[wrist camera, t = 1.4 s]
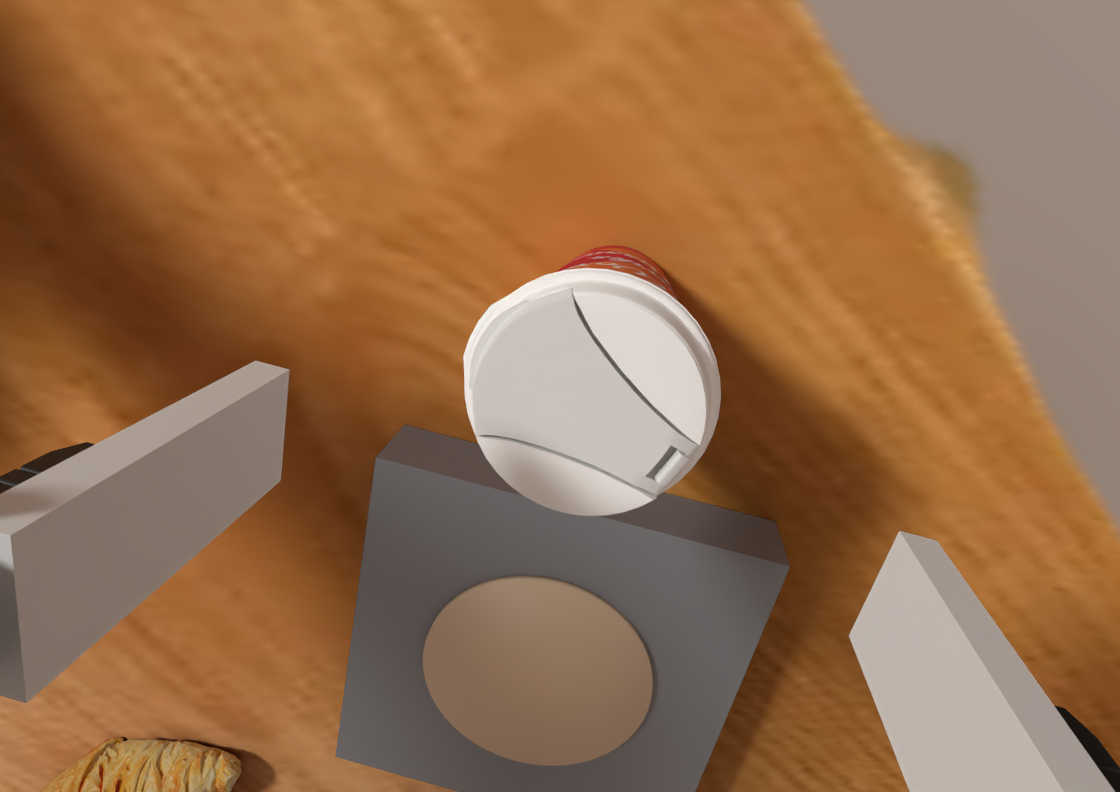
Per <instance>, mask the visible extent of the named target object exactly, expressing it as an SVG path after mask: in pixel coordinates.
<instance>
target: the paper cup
mask: <svg viewBox="0 0 1120 792" xmlns="http://www.w3.org/2000/svg"><path fill="white" fill-rule="evenodd" d="M463 358H464V380H465V401H466V407H467V412H468V416H469V419H470V422H471V425H472V428H473V431H474V433H475V435H476V438H477V441H478V444H479V446H480V447H481V449H482V451H483V453H484V455H485V457H486V459H487V460H488V461H489V463H490V464H491V465H492V467H493V468H494V470H495V471H496V472H497V473H498V474H499V475H500V476H501V477H502V478H503V479H504V480H505V481H506V482H507V483H508V484H509V485H510V486H511V487H513V488H514V489H515V490H517V491H518V492H519V493H520V494H522V495H523V496H525V497H527V498H529V499H530V500H532V501H534V502H536V503H537V504H540V505H542V506H545V507H547V508H550V509H552V510H555V511H560V512H564V513H568V514H573V515H583V516H603V515H611V514H617V513H622V512H626V511H629V510H632V509H635V508H638V507H641V506H643V505H645V504H647V503H649V502H651V501H653V500H655V499H656V497H657V495H659V494H661V493H663V492H665V491H666V490H667V489H669V488H670V487H672V486H673V485H674V484H676V483H677V482H679V481H680V480H681V479H682V478H683V477H684V476H685V475H686V474H687V473H688V472H689V471H690V470H691V469H692V468H693V467H694V466H695V464H696V463H697V462H698V460H699V459H700V457H701V456H702V455H703V453H704V452H705V450H706V448H707V446H708V444H709V442H710V440H711V438H712V436H713V433H714V430H715V427H716V424H717V420H718V417H719V409H720V402H721V386H720V375H719V371H718V366H717V361H716V358H715V355H714V353H713V350H712V348H711V345H710V343H709V340H708V338H707V337H706V335H705V333H704V332H703V330H702V329H701V327H700V325H699V324H698V322H697V321H696V320H695V319H694V317H693V316H692V315H691V314H690V313H689V312H688V310H687V309H686V308H685V307H684V306H683V305H682V304H681V303H679V301H678V299H677V297H676V295H675V293H674V291H673V289H672V287H671V285H670V283H669V281H668V279H667V278H666V276H665V274H664V273H663V271H662V270H661V269H660V268H659V267H658V265H657V264H656V263H655V262H654V261H652V260H651V259H650V258H649V257H647V256H646V255H644V254H643V253H641V252H639V251H637V250H634V249H631V248H628V247H623V246H603V247H599V248H595V249H592V250H589V251H587V252H585V253H583V254H581V255H580V256H578V257H576V258H575V259H573V260H572V261H570V262H569V263H568V264H566V265H565V266H563V267H562V268H561V269H559V270H558V271H557V272H555V273H551V274H548V275H544V276H542V277H540V278H538V279H535V280H533V281H531V282H529V283H526V284H525V285H523V286H522V287H520V288H519V289H517V290H516V291H514V292H513V293H511V294H510V295H508V296H506V297H504V298H503V299H501V300H499V301H498V302H496V303H494V304H492V305H491V306H490V307H489V308H488V309H487V311H486V312H485V313H484V315H483V316H482V317H481V319H480V320H479V321H478V323H477V325H476V327H475V329H474V331H473V332H472V334H471V336H470V338H469V341H468V344H467V347H466V350H465V353H464V356H463Z"/></svg>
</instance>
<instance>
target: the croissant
mask: <svg viewBox="0 0 1120 792" xmlns="http://www.w3.org/2000/svg"><path fill="white" fill-rule="evenodd" d="M241 771H242V770H241V761H240V760H239V759H238V758H237V757H236V756H235V755H233V754H231V753H228V752H226V751H223V750H221V749H219V748H213V747H207V746H204V745H201V744H198V743H195V742H187V741H181V740H178V741H168V740H158V739H156V738H152V739H143V740H140V739H131V740H127V741H124V739H123V738H122V737H119V738H110V739H108V740H106V741H104V742H103V743H101V744H100V745H98V746H97V747H96V748H94V749H93V750H91V751H90V752H89V753H87V754H86V755H84V756H83V757H82V758H81V759H79V760H78V761H77V762H75V763H74V764H73V765H71V766H70V767H69V768H68V769H66V770H64V771H63V772H62V773H60V774H59V775H58V776H57V777H55V778H54V779H53V780H52V781H51V782H50V783H48V784H47V786H46V787H45V788H44V789H43V790H42V792H230V791H231V790H232V787H233V785H234V783H235V782H236V780H237V779H238V777H239V776H240V774H241Z"/></svg>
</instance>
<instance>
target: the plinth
mask: <svg viewBox="0 0 1120 792" xmlns="http://www.w3.org/2000/svg"><path fill="white" fill-rule="evenodd" d="M789 568H790V564H789V561H788V558H787V555H786V552H785V549H784V546H783V543H782V540H781V537H780V534H779V531H778V528H777V525H776V522H775V521H771V520H767V519H764V518H760V517H756V516H752V515H748V514H744V513H741V512H737V511H733V510H729V509H725V508H722V507H718V506H714V505H710V504H706V503H702V502H699V501H695V500H691V499H687V498H683V497H679V496H676V495H672V494H668V493H664V492H663V493H661V494H659V495H657V497H656V499H655V500H653V501H651V502H649V503H647V504H645V505H643V506H641V507H638V508H635V509H632V510H629V511H626V512H622V513H617V514H611V515H603V516H583V515H573V514H568V513H564V512H560V511H555V510H552V509H550V508H547V507H545V506H542V505H540V504H537V503H536V502H534V501H532V500H530V499H529V498H527V497H525V496H523V495H522V494H520V493H519V492H518V491H517V490H515V489H514V488H513V487H511V486H510V485H509V484H508V483H507V482H506V481H505V480H504V479H503V478H502V477H501V476H500V475H499V474H498V473H497V472H496V471H495V470H494V468H493V467H492V465H491V464H490V463H489V461H488V460H487V459H486V457H485V455H484V453H483V451H482V449H481V447H480V446H479V444H476V443H473V442H469V441H465V440H461V439H457V438H453V437H450V436H446V435H442V434H438V433H434V432H430V431H427V430H423V429H419V428H415V427H411V426H407V425H404V426H403V427H402V428H401V429H400V431H399V432H398V433H397V434H396V435H395V436H394V437H393V438H392V440H391V441H390V442H389V443H388V444H387V445H386V446H385V447H384V449H383V450H382V451H381V452H380V453H379V454H378V455H377V456H376V459H375V467H374V474H373V482H372V489H371V497H370V504H369V511H368V519H367V526H366V534H365V541H364V549H363V556H362V564H361V571H360V578H359V586H358V593H357V601H356V608H355V616H354V623H353V631H352V638H351V645H350V653H349V660H348V668H347V675H346V683H345V690H344V698H343V705H342V712H341V720H340V727H339V735H338V742H337V750H336V757H339V758H342V759H346V760H349V761H353V762H356V763H360V764H363V765H367V766H370V767H374V768H377V769H381V770H384V771H388V772H392V773H395V774H399V775H402V776H406V777H409V778H413V779H416V780H420V781H423V782H427V783H430V784H434V785H437V786H441V787H445V788H448V789H452V790H455V791H459V792H695V791H696V789H697V787H698V784H699V782H700V779H701V777H702V775H703V772H704V770H705V768H706V765H707V763H708V761H709V758H710V756H711V753H712V751H713V749H714V746H715V744H716V742H717V739H718V737H719V734H720V732H721V730H722V727H723V725H724V723H725V720H726V718H727V715H728V713H729V711H730V708H731V706H732V704H733V701H734V699H735V696H736V694H737V692H738V689H739V687H740V685H741V682H742V680H743V677H744V675H745V673H746V670H747V668H748V666H749V663H750V661H751V658H752V656H753V654H754V651H755V649H756V647H757V644H758V642H759V640H760V637H761V635H762V632H763V630H764V628H765V625H766V623H767V621H768V618H769V616H770V613H771V611H772V609H773V606H774V604H775V602H776V599H777V597H778V594H779V592H780V590H781V587H782V585H783V583H784V580H785V578H786V575H787V573H788V571H789Z"/></svg>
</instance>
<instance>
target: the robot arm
mask: <svg viewBox="0 0 1120 792" xmlns="http://www.w3.org/2000/svg"><path fill="white" fill-rule="evenodd" d="M288 382H289V369H285V368H282V367H278V366H274V365H270V364H267V363H263V362H259V361H254V362H252V363H250V364H248V365H246V366H244V367H242V368H240V369H239V370H237V371H235V372H233V373H231V374H229V375H227V376H225V377H223V378H221V379H219V380H218V381H216V382H214V383H212V384H210V385H208V386H206V387H204V388H202V389H200V390H198V391H196V392H195V393H193V394H191V395H189V396H187V397H185V398H183V399H181V400H179V401H177V402H175V403H174V404H172V405H170V406H168V407H166V408H164V409H162V410H160V411H158V412H156V413H154V414H152V415H151V416H149V417H147V418H145V419H143V420H141V421H139V422H137V423H135V424H133V425H131V426H129V427H128V428H126V429H124V430H122V431H120V432H118V433H116V434H114V435H112V436H110V437H108V438H107V439H105V440H103V441H101V442H99V443H97V444H92V443H88V442H86V443H82V444H78V445H74V446H70V447H67V448H63V449H59V450H55V451H51V452H49V453H47V454H45V455H43V456H41V457H39V458H37V459H35V460H33V461H31V462H29V463H27V464H25V465H23V466H21V469H20V470H17V469H15V470H13V471H11V472H9V473H7V474H5V475H3V476H1V477H0V695H1V696H4V697H7V698H11V699H14V700H17V701H21V702H24V703H27V702H28V701H30V700H31V699H32V698H33V697H34V696H35V695H36V694H38V693H39V692H40V691H41V690H42V689H43V688H44V687H46V686H47V685H48V684H49V683H50V682H51V681H52V680H54V679H55V678H56V677H57V676H58V675H59V674H60V673H62V672H63V671H64V670H65V669H66V668H67V667H68V666H70V665H71V664H72V663H73V662H74V661H75V660H76V659H78V658H79V657H80V656H81V655H82V654H83V653H84V652H86V651H87V650H88V649H89V648H90V647H91V646H92V645H94V644H95V643H96V642H97V641H98V640H99V639H100V638H102V637H103V636H104V635H105V634H106V633H107V632H108V631H110V630H111V629H112V628H113V627H114V626H115V625H116V624H118V623H119V622H120V621H121V620H122V619H123V618H124V617H126V616H127V615H128V614H129V613H130V612H131V611H132V610H134V609H135V608H136V607H137V606H138V605H139V604H140V603H142V602H143V601H144V600H145V599H146V598H147V597H148V596H150V595H151V594H152V593H153V592H154V591H155V590H156V589H158V588H159V587H160V586H161V585H162V584H163V583H164V582H166V581H167V580H168V579H169V578H170V577H171V576H172V575H174V574H175V573H176V572H177V571H178V570H179V569H180V568H182V567H183V566H184V565H185V564H186V563H187V562H188V561H190V560H191V559H192V558H193V557H194V556H195V555H196V554H198V553H199V552H200V551H201V550H202V549H203V548H204V547H206V546H207V545H208V544H209V543H210V542H211V541H212V540H214V539H215V538H216V537H217V536H218V535H219V534H220V533H222V532H223V531H224V530H225V529H226V528H227V527H228V526H230V525H231V524H232V523H233V522H234V521H235V520H236V519H238V518H239V517H240V516H241V515H242V514H243V513H244V512H246V511H247V510H248V509H249V508H250V507H251V506H252V505H254V504H255V503H256V502H257V501H258V500H259V499H260V498H262V497H263V496H264V495H265V494H266V493H267V492H268V491H270V490H271V489H272V488H273V487H274V486H275V485H276V484H278V483H279V482H280V481H281V473H282V460H283V447H284V434H285V421H286V408H287V395H288ZM849 638H850V640H851V643H852V645H853V648H854V650H855V653H856V656H857V658H858V661H859V663H860V666H861V668H862V671H863V674H864V676H865V679H866V681H867V684H868V686H869V689H870V691H871V694H872V697H873V699H874V702H875V704H876V707H877V709H878V712H879V715H880V717H881V720H882V722H883V725H884V727H885V730H886V732H887V735H888V738H889V740H890V743H891V745H892V748H893V750H894V753H895V756H896V758H897V761H898V763H899V766H900V768H901V771H902V773H903V776H904V779H905V781H906V784H907V786H908V789H909V791H910V792H1120V768H1119V767H1118V765H1117V764H1116V763H1115V761H1114V760H1113V759H1112V757H1111V756H1110V755H1109V753H1108V752H1107V751H1106V749H1105V748H1104V746H1103V745H1102V744H1101V742H1100V741H1099V740H1098V738H1097V737H1095V736H1094V735H1093V734H1092V733H1091V732H1090V731H1089V730H1088V729H1087V728H1086V727H1085V726H1083V725H1082V724H1081V723H1080V722H1079V721H1078V720H1077V719H1076V718H1075V717H1074V716H1073V715H1071V714H1070V713H1069V712H1068V711H1067V710H1066V709H1065V708H1062V707H1058V706H1054V705H1053V704H1052V702H1051V701H1050V699H1049V698H1048V697H1047V695H1046V694H1045V692H1044V691H1043V689H1042V688H1041V687H1040V685H1039V684H1038V682H1037V681H1036V680H1035V678H1034V677H1033V675H1032V674H1031V673H1030V671H1029V670H1028V668H1027V667H1026V666H1025V664H1024V663H1023V661H1022V660H1021V659H1020V657H1019V656H1018V654H1017V653H1016V651H1015V650H1014V649H1013V647H1012V646H1011V644H1010V643H1009V642H1008V640H1007V639H1006V637H1005V636H1004V635H1003V633H1002V632H1001V630H1000V629H999V628H998V626H997V625H996V623H995V622H994V620H993V619H992V618H991V616H990V615H989V613H988V612H987V611H986V609H985V608H984V606H983V605H982V604H981V602H980V601H979V599H978V598H977V597H976V595H975V594H974V592H973V591H972V590H971V588H970V587H969V585H968V584H967V582H966V581H965V580H964V578H963V577H962V575H961V574H960V573H959V571H958V570H957V568H956V567H955V566H954V564H953V563H952V561H951V560H950V559H949V557H948V556H947V554H946V553H945V552H944V550H943V549H942V547H941V546H940V544H939V543H938V542H937V541H936V540H932V539H929V538H925V537H921V536H917V535H913V534H910V533H906V532H902V531H899V533H898V535H897V537H896V539H895V541H894V543H893V545H892V547H891V549H890V551H889V553H888V555H887V558H886V560H885V562H884V564H883V566H882V568H881V570H880V572H879V574H878V576H877V578H876V580H875V582H874V585H873V587H872V589H871V591H870V593H869V595H868V597H867V599H866V601H865V603H864V605H863V607H862V609H861V612H860V614H859V616H858V618H857V620H856V622H855V624H854V626H853V628H852V630H851V632H850V634H849Z"/></svg>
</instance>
